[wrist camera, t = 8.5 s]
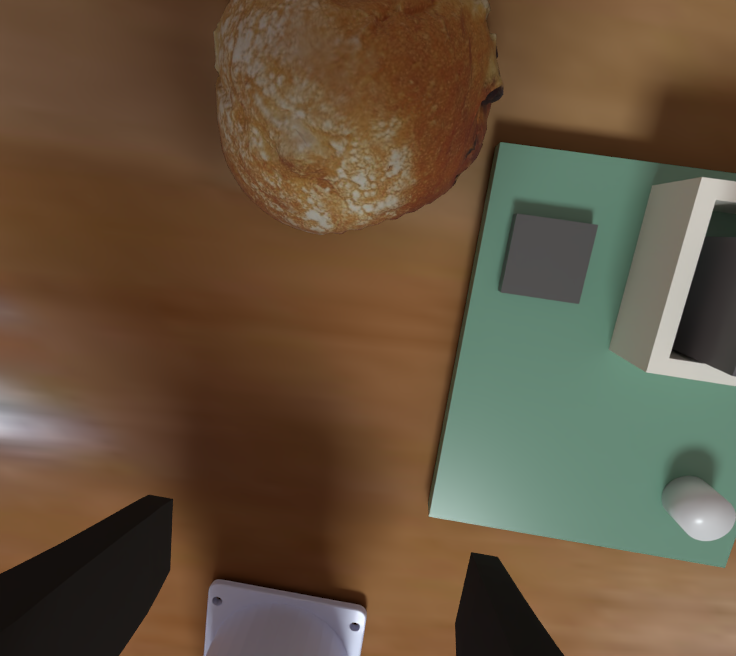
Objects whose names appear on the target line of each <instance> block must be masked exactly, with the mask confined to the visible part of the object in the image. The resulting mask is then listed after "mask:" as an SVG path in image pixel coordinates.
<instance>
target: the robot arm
mask: <svg viewBox="0 0 736 656" xmlns="http://www.w3.org/2000/svg"><path fill="white" fill-rule="evenodd" d="M172 510H173V499H170V498H164V497H159V496H153V495H147V496H145V497H143V498H141V499H139V500H138V501H136V502H134V503H132V504H130V505H129V506H127V507H125V508H123V509H121V510H120V511H118V512H116V513H114V514H113V515H111V516H109V517H107V518H106V519H104V520H102V521H100V522H99V523H97V524H95V525H93V526H91V527H90V528H88V529H86V530H84V531H82V532H80V533H79V534H77V535H75V536H73V537H71V538H70V539H68V540H66V541H64V542H62V543H61V544H59V545H57V546H55V547H53V548H51V549H49V550H47V551H45V552H43V553H41V554H39V555H37V556H35V557H33V558H31V559H29V560H27V561H25V562H23V563H21V564H19V565H17V566H15V567H13V568H11V569H9V570H7V571H5V572H3V573H1V574H0V656H119V655H120V653H121V652H122V650H123V649H124V647H125V646H126V644H127V643H128V642H129V640H130V639H131V637H132V636H133V634H134V633H135V631H136V630H137V628H138V627H139V625H140V624H141V622H142V621H143V619H144V618H145V616H146V615H147V613H148V611H149V609H150V608H151V606H152V604H153V602H154V600H155V598H156V597H157V595H158V593H159V591H160V589H161V587H162V585H163V583H164V581H165V579H166V577H167V575H168V573H169V571H170V560H171V535H172ZM216 597H219V598H221V599H222V600H220V599H217V598H216ZM366 617H367V612H366V610H365V608H364V607H363V606H361V605H358V604H353V603H347V602H342V601H336V600H331V599H325V598H320V597H314V596H309V595H304V594H298V593H293V592H287V591H282V590H276V589H271V588H266V587H260V586H255V585H249V584H244V583H238V582H233V581H227V580H222V579H217V580H214V581H213V582H212V584H211V586H210V587H209V591H208V605H207V618H206V631H205V645H204V656H360V654H361V648H362V642H363V636H364V630H365V624H366ZM352 623H358V625H354V624H352ZM455 632H456V656H564V655H563V653H562V652H561V651H560V649H559V648H558V647H557V645H556V644H555V642H554V641H553V639H552V638H551V637H550V635H549V634H548V632H547V631H546V629H545V628H544V627H543V625H542V624H541V622H540V621H539V619H538V618H537V617H536V615H535V614H534V612H533V611H532V609H531V608H530V606H529V605H528V603H527V601H526V600H525V598H524V597H523V595H522V594H521V592H520V591H519V589H518V588H517V586H516V585H515V583H514V581H513V580H512V578H511V577H510V575H509V574H508V572H507V570H506V569H505V567H504V566H503V564H502V563H501V561H500V560H499V558H498V557H495V556H489V555H484V554H478V553H472V552H471V556H470V560H469V564H468V569H467V573H466V578H465V582H464V587H463V591H462V596H461V600H460V604H459V609H458V613H457V618H456V622H455Z"/></svg>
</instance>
